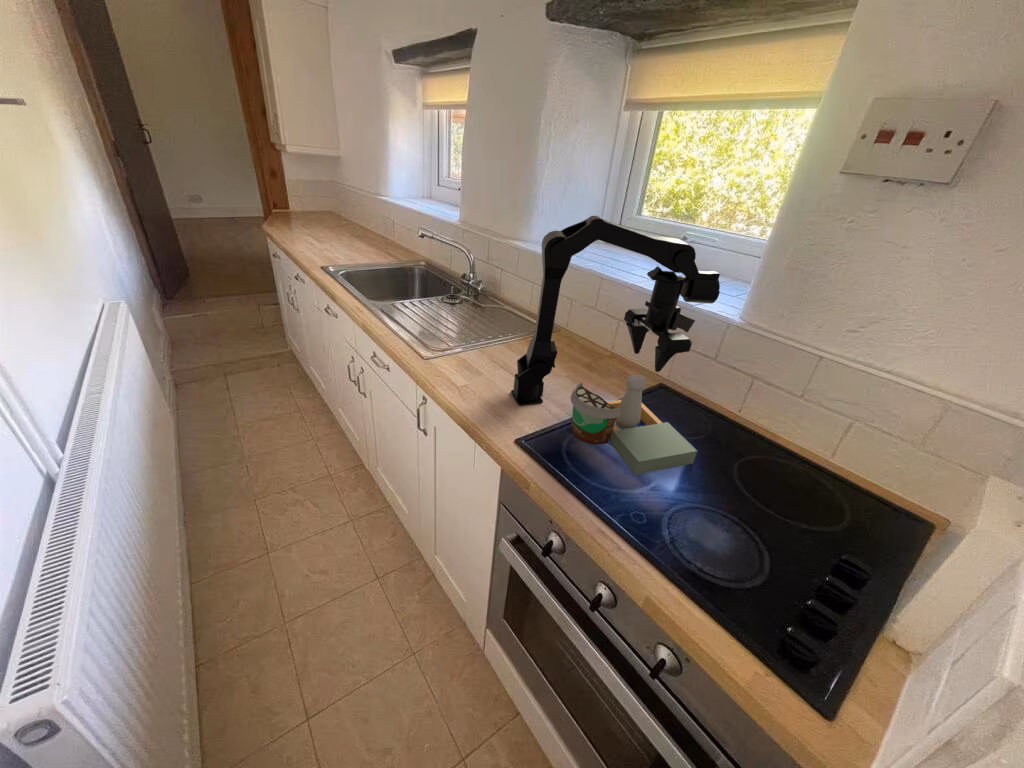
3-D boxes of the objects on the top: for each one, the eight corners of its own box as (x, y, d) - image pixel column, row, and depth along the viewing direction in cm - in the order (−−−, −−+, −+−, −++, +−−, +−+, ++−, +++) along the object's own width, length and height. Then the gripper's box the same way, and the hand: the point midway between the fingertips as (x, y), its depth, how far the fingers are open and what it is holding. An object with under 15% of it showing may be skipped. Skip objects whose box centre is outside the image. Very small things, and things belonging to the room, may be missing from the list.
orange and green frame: (634, 474, 81) (638, 461, 79) (586, 414, 98) (589, 402, 96) (692, 463, 85) (697, 450, 83) (636, 407, 102) (640, 395, 100)
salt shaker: (620, 415, 99) (632, 368, 92) (642, 425, 96) (655, 377, 89) (608, 425, 95) (619, 377, 88) (630, 436, 92) (644, 387, 85)
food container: (554, 424, 93) (560, 387, 88) (574, 417, 97) (580, 381, 91) (592, 455, 85) (601, 417, 80) (612, 446, 88) (622, 408, 83)
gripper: (723, 314, 84) (699, 379, 93) (670, 285, 100) (653, 343, 108) (678, 316, 81) (657, 383, 89) (630, 286, 97) (616, 345, 105)
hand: (646, 362), depth 98 cm, fingers open, 9 cm apart
